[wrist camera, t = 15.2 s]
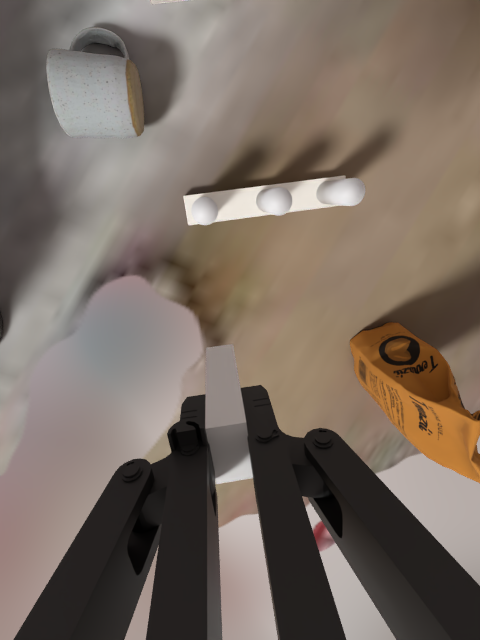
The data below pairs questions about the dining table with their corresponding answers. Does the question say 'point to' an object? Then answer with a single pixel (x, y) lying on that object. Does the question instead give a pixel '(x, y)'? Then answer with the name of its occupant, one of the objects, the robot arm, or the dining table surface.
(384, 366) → the coffee package
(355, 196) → the rack
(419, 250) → the dining table surface
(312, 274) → the dining table surface
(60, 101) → the ceramic mug
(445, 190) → the dining table surface
